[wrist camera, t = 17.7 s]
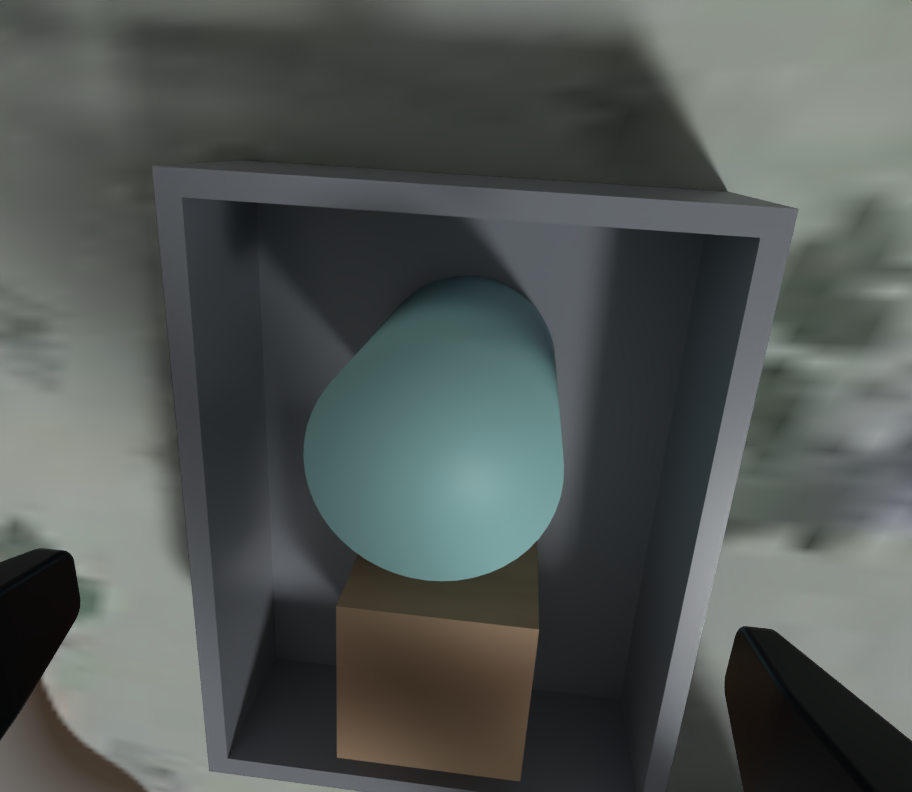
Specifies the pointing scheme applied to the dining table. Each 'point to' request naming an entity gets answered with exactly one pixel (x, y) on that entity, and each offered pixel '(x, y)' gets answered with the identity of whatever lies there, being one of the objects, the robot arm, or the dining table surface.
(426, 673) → the walnut block
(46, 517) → the dining table surface
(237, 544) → the tote
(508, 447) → the teal capsule
